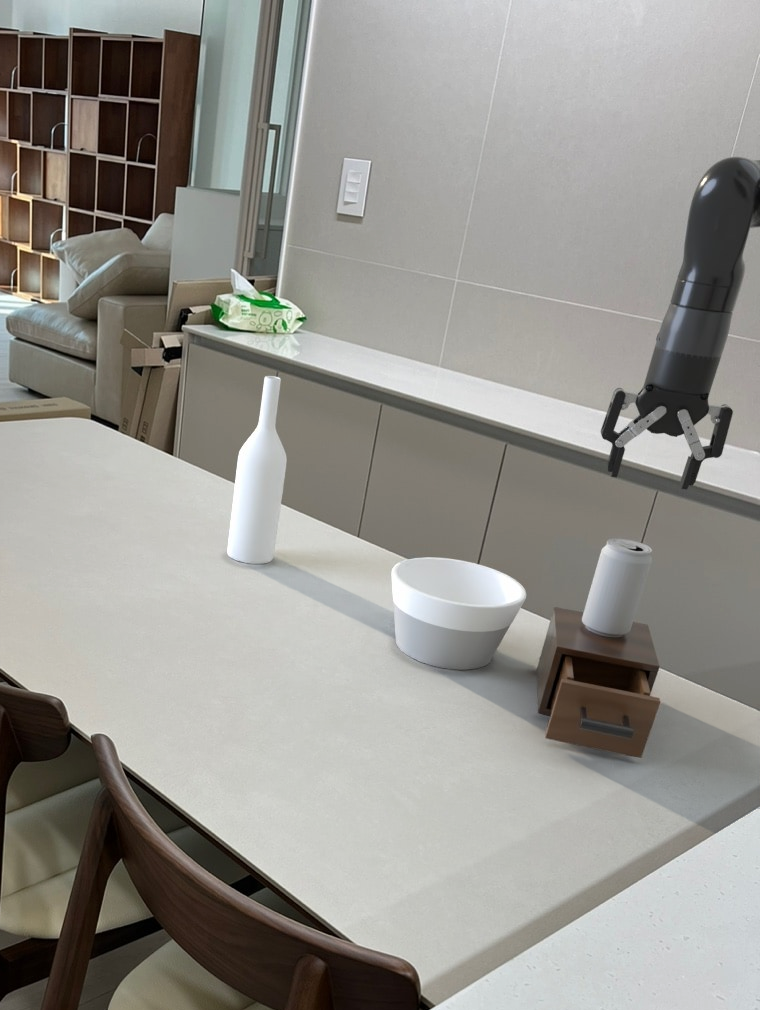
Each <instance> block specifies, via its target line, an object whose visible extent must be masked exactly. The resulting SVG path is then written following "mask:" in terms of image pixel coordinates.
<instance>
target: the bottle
mask: <svg viewBox="0 0 760 1010" xmlns="http://www.w3.org/2000/svg"><path fill="white" fill-rule="evenodd" d="M281 383H282V379H281V377H279V376H275V375H265V376H264V379H263V386H262V387H263V388H262V395H261V402H260V404H261V405H260V409H259V410H260V411H259V418H258V423H257V426H256V428H255V429H254V431H253V432H252V433H251V435H250V436H249V437H248V438H247V440H246V441H245V442H244V443H243V445H242V447H241V448H240V450H239V451H238V456H237V463H236V471H235V472H236V473H235V478H234V479H235V481H234V490H233V497H232V506H231V514H230V522H229V523H230V524H229V531H228V540H227V547H226V549H227V550H226V554H227V555H228V557H229V558H230V559H232V560H235V561H237V562H240V563H244V564H252V565H263V564H267V563H270V562H272V561H273V559H274V556H275V550H276V542H277V535H278V528H279V522H280V521H279V520H280V514H281V507H282V499H283V492H284V484H285V478H286V471H287V459H288V458H287V454H286V451H285V448H284V446H283V443H282V441H281V438H280V436H279V434H278V432H277V428H276V421H277V415H278V414H277V413H278V406H279V405H278V404H279V398H280V390H281Z"/></svg>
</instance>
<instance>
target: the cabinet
mask: <svg viewBox="0 0 760 1010" xmlns="http://www.w3.org/2000/svg"><path fill="white" fill-rule="evenodd" d="M583 613H584V611H579V610H573V609H568V608H562V607H557V606H553V610H552V613H551V617H550V620H549V623H548V628H547V631H546V635H545V638H544V641H543V646H542V649H541V652H540V656H539V659H538V663H537V667H536V687H537V689H536V690H537V691H536V692H537V694H536V695H537V714H540V715H545V716H549V717H550V716H551V691H552V687H553V684H554V681H555V677H556V674H557V670H558V667H559V663H560V660H561V656H562V654H565V655H571V656H576V657H581V658H586V659H591V660H596V661H601V662H606V663H611V664H616V665H622V666H627V667H632V668H637V669H642V670H645V673H646V677H647V681H648V685H649V689H650V693H651V694H652V692H653V688H654V685H655V682H656V680H657V676H658V673H659V670H660V662H659V659H658V655H657V652H656V651H657V650H656V648H655V645H654V641H653V637H652V634H651V631H650V626H649V624H647V623H642V622H637V621H633V624H632V627H631V630H630V632H629V633H627V634H624V635H623V636H621V637H606V636H602V635H599V634H596V633H593V632H591V631H590V630H588V629H587V628H586V626H585V625H584V624H583V622H582V617H583Z"/></svg>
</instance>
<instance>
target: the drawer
mask: <svg viewBox="0 0 760 1010" xmlns="http://www.w3.org/2000/svg"><path fill="white" fill-rule="evenodd" d="M651 694H652V692H651V693H650V689H649V685H648V681H647V677H646V673H645V670H642V669H637V668H632V667H627V666H622V665H616V664H611V663H606V662H601V661H596V660H591V659H586V658H581V657H576V656H571V655H565V654H562V656H561V660H560V663H559V667H558V670H557V674H556V677H555V681H554V684H553V687H552V691H551V716H549V720H548V724H547V726H546V730H545V739H547V740H550V741H551V740H552V741H556V742H561V743H566V744H571V745H576V746H579V747H585V748H589V749H594V750H599V751H604V752H608V753H613V754H618V755H623V756H627V757H633V758H637V759H642V758H643V754H644V751H645V748H646V745H647V742H648V739H649V738H650V737H649V736H650V734H651V731H652V728H653V725H654V722H655V719H656V716H657V713H658V710H659V708H660V705H661V699H660V697H657V696H652V695H651Z"/></svg>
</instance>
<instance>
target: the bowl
mask: <svg viewBox="0 0 760 1010" xmlns="http://www.w3.org/2000/svg"><path fill="white" fill-rule="evenodd" d="M391 588H392V601H393V617H394V618H393V619H394V632H395V644H396V646H397V648H398V649H399V650H400V651H401V652H402V653H404V654H405V655H406V656H408V657H410V658H412V659H414V660H415V661H418V662H420V663H423V664H425V665H429V666H432V667H437V668H441V669H447V670H457V671H461V670H463V671H465V670H467V671H468V670H476V669H479V668H483V667H486V666H487V665H488V664H490V662H491V661H492V659H493V657H494V656H495V654H496V652H497V650H498V648H499V646H500V645H501V643H502V642H503V640H504V637H505V636H506V634H507V632H508V630H509V629H510V627H511V625H512V623H514V620H515V618H516V616H517V615H518V613H519V612H520V610H521V609H522V606H523V604H524V602H525V601H526V598H527V591H526V588H525V587H524V586H523V585H522V584H521V583H520V582H519V581H518V580H517V579H515V578H513V577H512V576H509V575H508V574H506V573H504V572H502V571H499V570H498V569H495V568H491V567H489V566H486V565H482V564H479V563H475V562H470V561H466V560H462V559H453V558H447V557H431V556H430V557H415V558H407V559H405V560H401V561H399V562H398V563H396V564H394V566H393V567H392V569H391Z"/></svg>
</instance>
